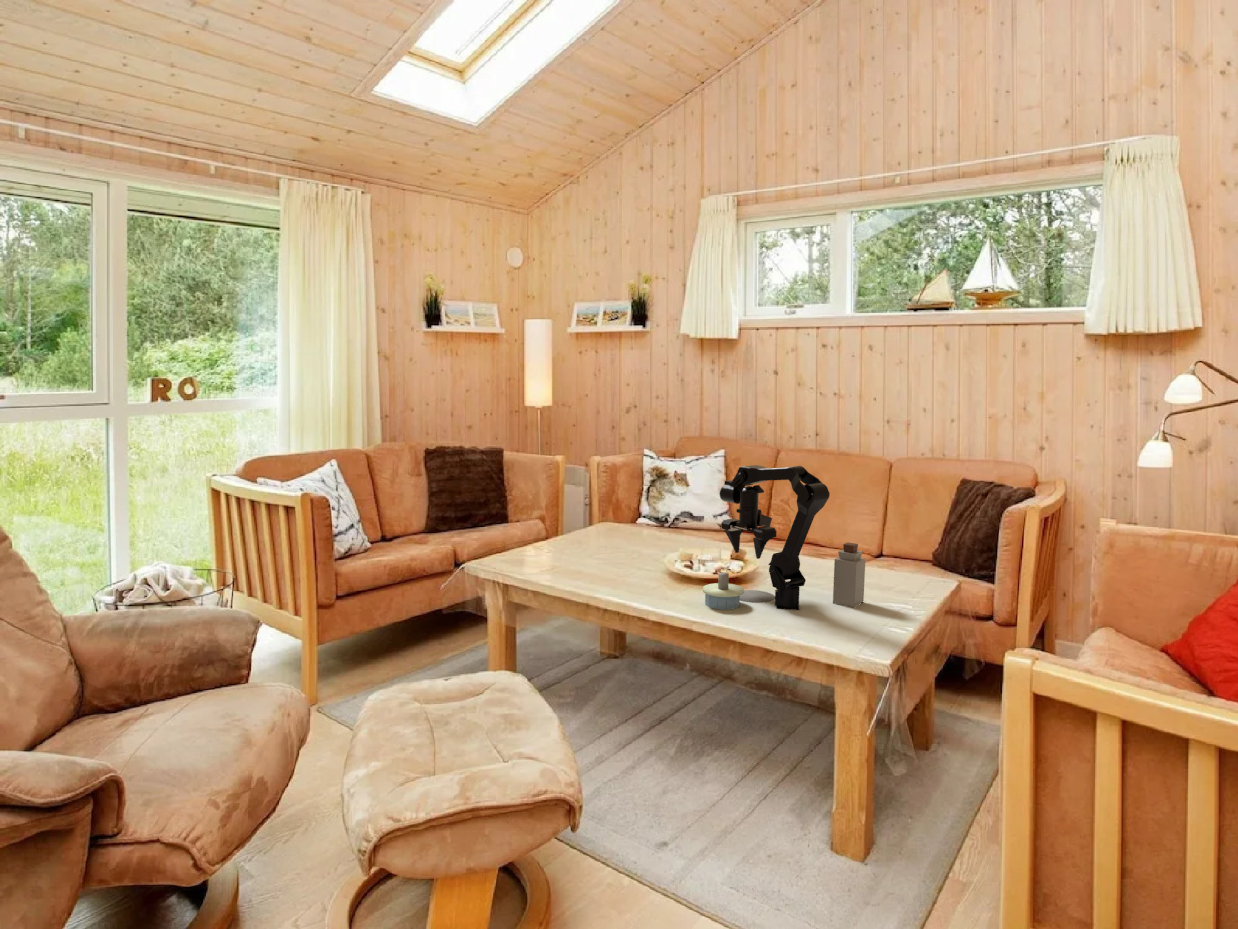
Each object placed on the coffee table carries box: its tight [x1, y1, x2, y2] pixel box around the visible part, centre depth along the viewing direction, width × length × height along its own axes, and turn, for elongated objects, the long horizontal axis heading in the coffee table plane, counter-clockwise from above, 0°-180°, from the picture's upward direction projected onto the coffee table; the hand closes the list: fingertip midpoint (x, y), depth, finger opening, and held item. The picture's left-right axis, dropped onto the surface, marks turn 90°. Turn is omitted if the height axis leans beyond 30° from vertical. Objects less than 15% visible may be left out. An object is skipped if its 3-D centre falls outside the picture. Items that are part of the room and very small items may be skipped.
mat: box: [740, 589, 775, 604], centre depth 236 cm, size 13×13×1 cm
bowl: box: [704, 593, 741, 610], centre depth 228 cm, size 10×10×4 cm
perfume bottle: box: [832, 542, 866, 608], centre depth 230 cm, size 7×7×18 cm
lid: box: [702, 572, 745, 597], centre depth 227 cm, size 12×12×5 cm
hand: (747, 555), depth 239 cm, fingers open, 9 cm apart
